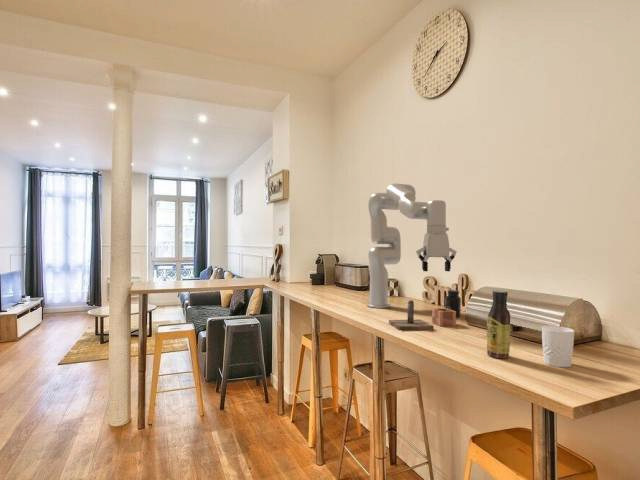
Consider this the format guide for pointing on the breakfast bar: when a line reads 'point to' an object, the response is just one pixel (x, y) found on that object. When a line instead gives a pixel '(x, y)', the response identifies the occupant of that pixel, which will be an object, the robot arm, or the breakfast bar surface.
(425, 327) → the post board
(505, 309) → the sauce bottle
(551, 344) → the white cup
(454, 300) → the supplement bottle
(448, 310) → the reddish brown box
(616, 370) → the breakfast bar surface
